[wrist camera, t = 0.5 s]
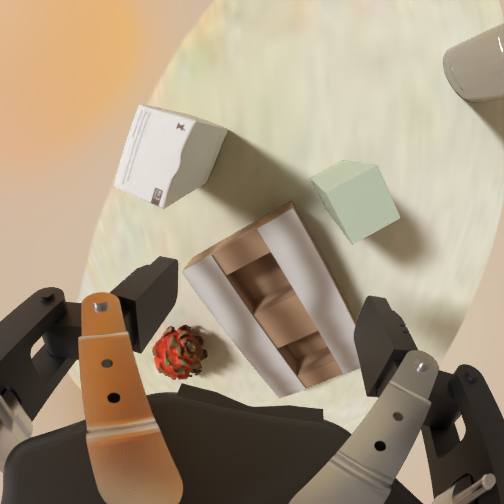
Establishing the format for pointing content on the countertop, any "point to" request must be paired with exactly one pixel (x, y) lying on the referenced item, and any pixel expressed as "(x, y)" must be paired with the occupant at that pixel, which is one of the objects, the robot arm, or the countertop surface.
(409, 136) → the countertop surface
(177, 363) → the dragon fruit
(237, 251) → the block
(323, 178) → the square peg
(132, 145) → the skincare box
